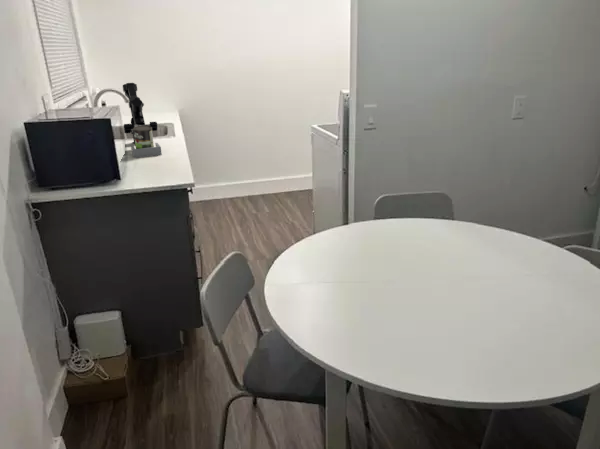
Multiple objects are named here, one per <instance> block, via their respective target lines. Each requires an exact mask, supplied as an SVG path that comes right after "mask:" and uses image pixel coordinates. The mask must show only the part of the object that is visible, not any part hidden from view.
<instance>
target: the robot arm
mask: <svg viewBox="0 0 600 449" xmlns="http://www.w3.org/2000/svg"><path fill="white" fill-rule="evenodd" d="M122 91H123V93H124V96H125V97H127V99H128V103H127V104H128V108H129V109H130V113H131V119H130V123H124V124H123V131H124V134H131V135H132V139H133V142H132V144H135V138H134V131H133V128H134V127H137V126H150V127H152V132H157V131H158V122H157V121H149V124H148V123H147V124H146V122H145V118H144V114H143V108H144V106H145V103H144V102H143V101H142V100H141V98H140V97H139V96H138V94H137V91H138V85H137V84H136V83H135V82H126V83H125V84H122Z"/></svg>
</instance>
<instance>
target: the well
mask: <svg viewBox="0 0 600 449" xmlns="http://www.w3.org/2000/svg"><path fill="white" fill-rule="evenodd" d="M154 144H155V145H154V147H150V148H140V149H136V147H135V146H134V145H133V144H131V145H130V148H131V149H130V150H131V154H132V157H133V158H144V157H152V156H153V157H154V156H162V155H163V154H162V153H163V152H162V146H161V145H160V144H159V143H158V142H155V143H154Z"/></svg>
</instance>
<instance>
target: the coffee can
mask: <svg viewBox="0 0 600 449" xmlns="http://www.w3.org/2000/svg"><path fill="white" fill-rule="evenodd" d="M133 131H134V138H135V143H134V145H135V146H134V147H135V149H140V148H150V147H155V145H154V144H155V143H154V135H153V131H152V127H150V126H137V127H134V128H133ZM133 131H132V132H133Z"/></svg>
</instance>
